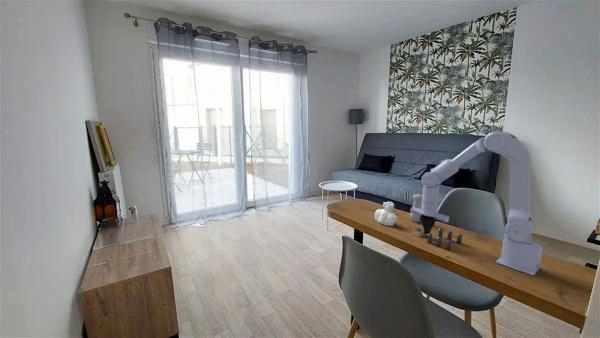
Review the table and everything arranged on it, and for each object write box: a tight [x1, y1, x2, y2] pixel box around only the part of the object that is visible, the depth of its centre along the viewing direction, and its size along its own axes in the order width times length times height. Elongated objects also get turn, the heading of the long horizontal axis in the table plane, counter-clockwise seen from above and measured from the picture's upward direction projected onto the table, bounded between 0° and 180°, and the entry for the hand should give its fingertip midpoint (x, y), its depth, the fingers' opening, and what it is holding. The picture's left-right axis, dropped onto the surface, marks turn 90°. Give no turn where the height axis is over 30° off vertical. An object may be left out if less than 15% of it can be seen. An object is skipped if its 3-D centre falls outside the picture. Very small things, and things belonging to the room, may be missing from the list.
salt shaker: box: [409, 194, 423, 223], centre depth 120 cm, size 6×6×13 cm
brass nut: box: [412, 227, 426, 238], centre depth 105 cm, size 5×4×2 cm
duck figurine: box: [374, 201, 398, 227], centre depth 117 cm, size 12×8×11 cm
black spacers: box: [426, 227, 463, 252], centre depth 97 cm, size 9×11×4 cm
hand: (427, 233), depth 102 cm, fingers closed
